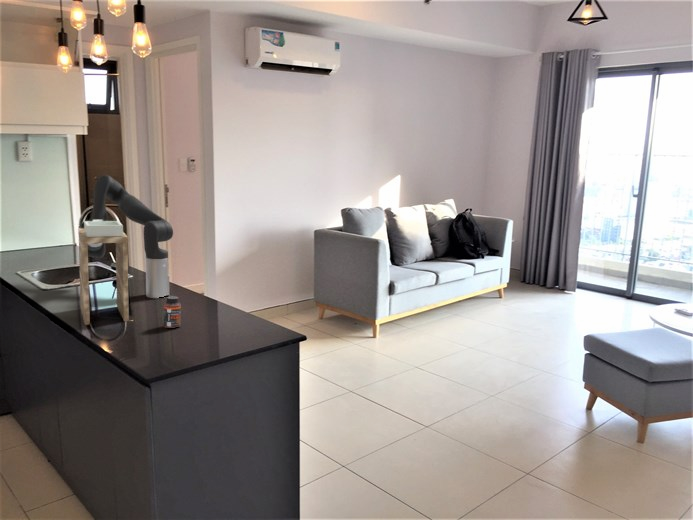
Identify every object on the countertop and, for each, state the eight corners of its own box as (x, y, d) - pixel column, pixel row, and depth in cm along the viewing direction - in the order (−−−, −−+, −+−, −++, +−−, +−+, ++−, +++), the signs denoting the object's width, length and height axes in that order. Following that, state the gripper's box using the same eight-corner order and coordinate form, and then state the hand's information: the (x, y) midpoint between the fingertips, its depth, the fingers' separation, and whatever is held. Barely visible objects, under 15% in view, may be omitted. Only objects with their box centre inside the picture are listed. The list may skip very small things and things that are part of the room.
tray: (112, 224, 238) (112, 214, 237) (123, 236, 210) (122, 225, 210) (80, 224, 232) (80, 214, 232) (87, 236, 205) (86, 225, 204)
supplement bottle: (171, 330, 209) (171, 300, 207) (160, 327, 212) (160, 297, 210) (184, 326, 214) (184, 297, 212) (172, 323, 217) (172, 294, 215)
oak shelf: (120, 305, 237) (119, 228, 231) (129, 321, 216) (127, 237, 210) (80, 308, 230) (78, 228, 224) (85, 325, 209) (82, 237, 203)
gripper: (76, 227, 243) (77, 211, 228) (112, 227, 249) (116, 211, 235) (77, 244, 241) (78, 229, 226) (113, 243, 247) (117, 228, 233)
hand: (98, 220), depth 231 cm, fingers closed on tray, 4 cm apart
